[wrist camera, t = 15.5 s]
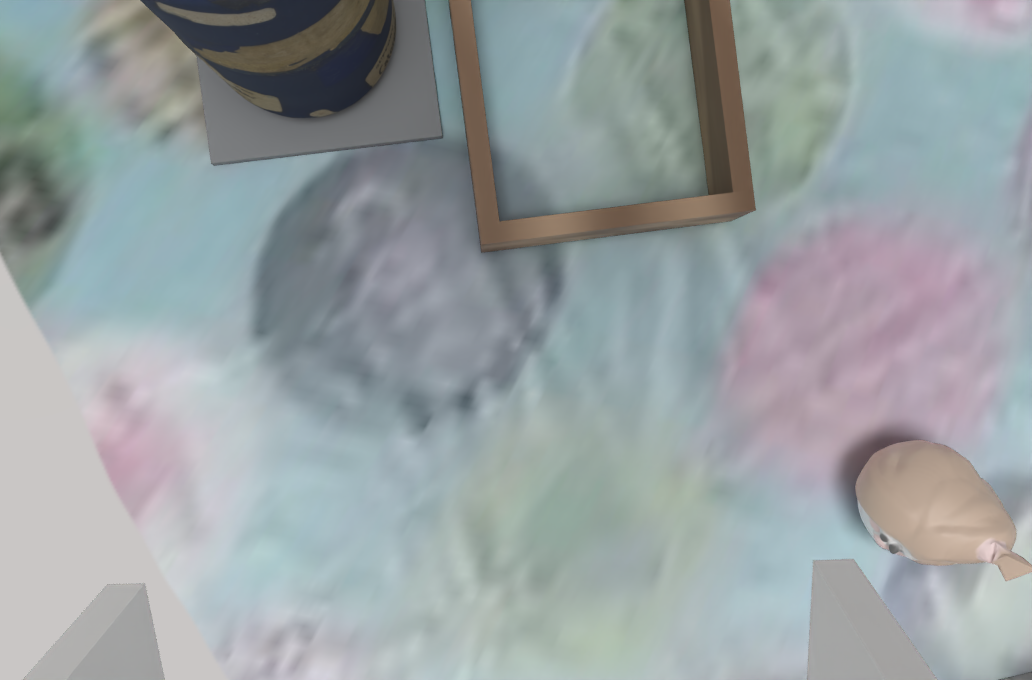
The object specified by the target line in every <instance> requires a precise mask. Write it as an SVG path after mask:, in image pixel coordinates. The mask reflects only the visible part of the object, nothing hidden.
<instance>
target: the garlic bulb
mask: <svg viewBox="0 0 1032 680" xmlns="http://www.w3.org/2000/svg"><path fill="white" fill-rule="evenodd" d="M855 491H856V496H857V500H858V509H859V513H860V516H861V519H862V521H863V523H864V525H865V527H866V529H867V530H868V532H869V533H870V535H871V536H872V537H873V538H874V539H875V541H876V543H877V544H878V545H879V546H880V547H882V548H883V549H887V550H888V551H890V552H891V553H893V554H897V555H900V556H903V557H907V558H909V559H911V560H913V561H915V562H917V563H919V564H924V565H936V566H944V565H953V564H974V563H983V562H988V563H992V564H995V565H998V567H999V569H1000V571H1001V573H1002V575H1003V577H1004V579H1005V581H1008V580H1011V579H1014V578H1017V577H1019V576H1022V575H1025V574H1027V573H1030V572H1032V565H1031V564H1030V563H1029V562H1028V561H1026V560H1025V559H1024V558H1023V557H1021V556H1019V555H1017V554H1016V553H1014V552H1012V551H1011V549H1012V548H1013V545H1014V543H1015V540H1016V528H1015V525H1014V523H1013V521H1012V519H1011V517H1010V516H1009V514H1008V513H1007V512H1006V510H1005V509H1004V507H1003V504H1002V503H1001V501H1000V499H999V498H998V496H997V495H996V494H995V492H994V490H993V489H992V487H991V486H990V485H989V484H988V483H987V482H986V481H985V480H983V479H982V478H980V476H979V474H978V473H977V472H976V470H975V469H974V467H973V466H972V464H971V463H970V462H969V461H968V460H967V459H966V458H964V457H963V456H961V455H960V454H959V453H957V452H956V451H954V450H953V449H951V448H949V447H947V446H945V445H941V444H936V443H931V442H928V441H924V440H912V441H906V442H900V443H895V444H892V445H890V446H888V447H886V448H883V449H881V450H879V451H877V452H875V453H874V454H873V455H872V456H871V457H870V459H869V460H868V461H867V463H866V464H865V466H864V468H863V469H862V471H861V473H860V474H859V476H858V479H857V481H856V486H855Z"/></svg>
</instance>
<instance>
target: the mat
mask: <svg viewBox="0 0 1032 680" xmlns="http://www.w3.org/2000/svg"><path fill="white" fill-rule="evenodd" d="M393 2H394V7H395V15H396V35H395V43H394V47H393V51H392V54H391V57H390V60H389V62H388V64H387V66H386V68H385V70H384V72H383V73H382V75H381V77H380V79H379V80H378V82H377V83H376V84H375V85H374V86H373V87H372V89H371V90H370V91H369V92H367V93H366V94H365V95H364V96H363V97H362V98H361V99H360V100H358V101H357V102H356V103H354V104H353V105H351V106H349V107H347V108H345V109H343V110H341V111H339V112H336V113H334V114H330V115H327V116H322V117H315V118H292V117H286V116H281V115H278V114H274V113H271V112H268V111H266V110H264V109H262V108H260V107H258V106H256V105H254V104H252V103H250V102H249V101H247V100H246V99H244V98H243V97H242V96H240V95H239V94H238V93H237V92H236V91H235V90H233V89H232V88H231V87H230V86H229V85H228V84H227V83H226V82H225V81H224V80H223V79H222V78H220V77H219V76H218V75H217V74H216V73H215V72H214V71H213V70H212V69H211V68H210V67H209V66H208V65H207V64H206V63H205V62H204V61H203V60H201V59H200V58H199V57H198V56H197V55H196V56H197V63H198V71H199V78H200V85H201V93H202V100H203V107H204V115H205V122H206V129H207V137H208V144H209V152H210V159H211V164H213V165H223V164H231V163H239V162H248V161H256V160H264V159H273V158H281V157H289V156H298V155H306V154H314V153H323V152H331V151H339V150H348V149H356V148H364V147H373V146H381V145H389V144H398V143H406V142H414V141H423V140H431V139H439V138H443V137H442V129H441V122H440V114H439V106H438V99H437V91H436V84H435V76H434V68H433V61H432V53H431V45H430V38H429V30H428V23H427V15H426V7H425V0H393Z"/></svg>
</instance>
